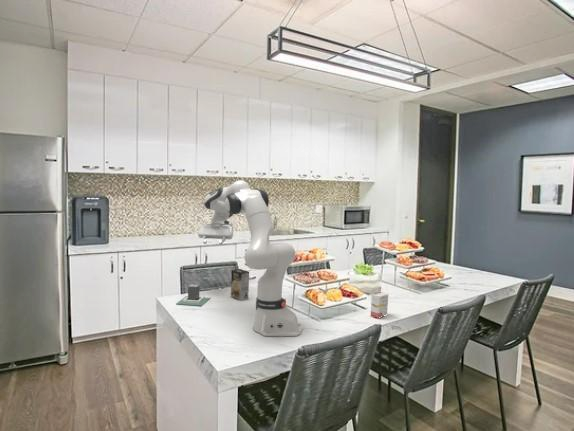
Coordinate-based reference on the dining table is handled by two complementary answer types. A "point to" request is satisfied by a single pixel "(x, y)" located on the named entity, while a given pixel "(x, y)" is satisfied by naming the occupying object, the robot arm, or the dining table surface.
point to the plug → (193, 292)
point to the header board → (193, 301)
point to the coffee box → (239, 284)
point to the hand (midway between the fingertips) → (212, 243)
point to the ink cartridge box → (379, 303)
